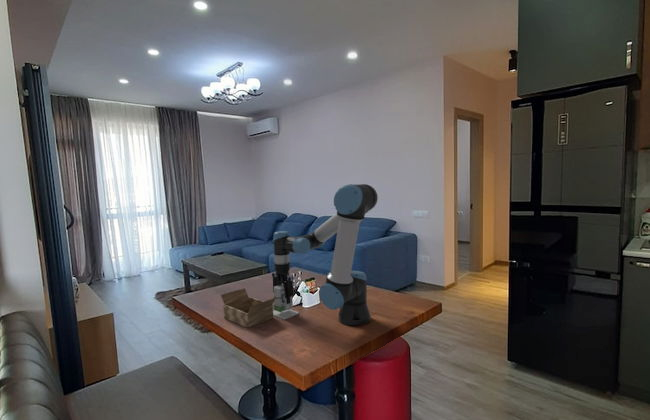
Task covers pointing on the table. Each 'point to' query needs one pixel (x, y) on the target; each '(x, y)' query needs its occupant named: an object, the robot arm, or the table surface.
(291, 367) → the table surface
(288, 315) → the felt mat
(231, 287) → the table surface
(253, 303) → the carton
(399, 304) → the table surface
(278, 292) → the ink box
